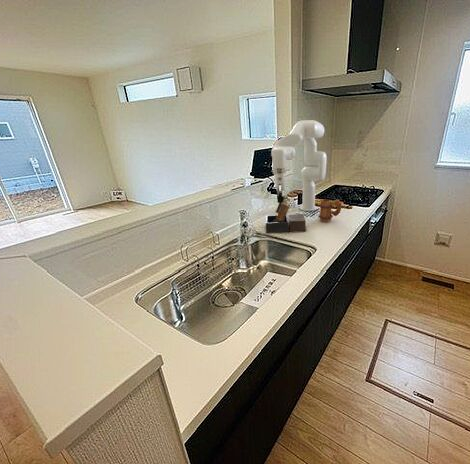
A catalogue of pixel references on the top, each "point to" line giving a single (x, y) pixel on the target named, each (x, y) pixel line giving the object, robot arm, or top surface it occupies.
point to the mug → (329, 209)
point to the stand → (296, 223)
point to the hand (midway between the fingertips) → (280, 200)
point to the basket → (276, 225)
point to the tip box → (282, 210)
